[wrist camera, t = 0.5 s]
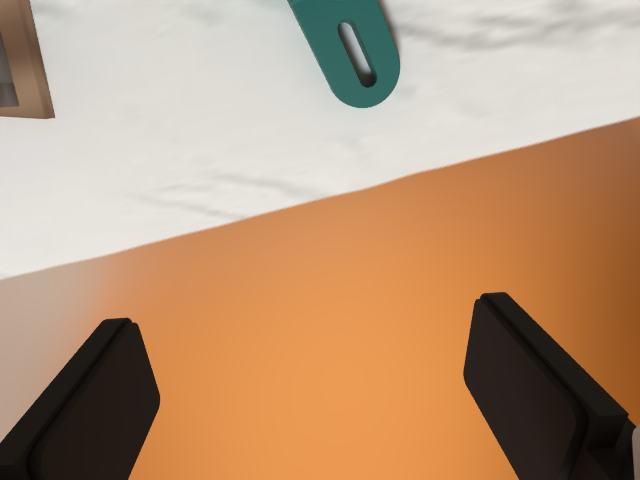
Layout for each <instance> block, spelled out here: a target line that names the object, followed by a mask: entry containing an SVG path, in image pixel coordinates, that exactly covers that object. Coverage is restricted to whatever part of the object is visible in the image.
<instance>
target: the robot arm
mask: <svg viewBox="0 0 640 480" xmlns="http://www.w3.org/2000/svg"><path fill="white" fill-rule="evenodd" d="M463 375H464V380H465V384H466V386H467V388H468V389H469V391H470V393H471V395H472V396H473V398H474V400H475V402H476V404H477V405H478V407H479V409H480V411H481V412H482V414H483V416H484V418H485V420H486V421H487V423H488V425H489V427H490V428H491V430H492V432H493V434H494V436H495V437H496V439H497V441H498V443H499V444H500V446H501V448H502V450H503V451H504V453H505V455H506V457H507V458H508V460H509V462H510V464H511V466H512V468H513V469H514V471H515V473H516V475H517V476H518V478H519V480H640V425H639V426H638V427H636V426H635V425H634V424H633V423H632V422H631V421H630V420H629V419H628V415H629V414H628V413H627V412H626V411H625V410H624V409H623V408H622V407H621V406H620V405H619V404H618V403H617V402H616V401H615V400H614V399H613V398H612V397H611V396H610V395H609V394H608V393H607V392H606V391H605V390H604V389H603V388H602V387H601V386H600V385H599V384H598V383H597V382H596V381H595V380H594V379H593V378H592V377H591V376H590V375H589V374H588V373H587V372H586V371H585V370H584V369H583V368H582V367H581V366H580V365H579V364H578V363H577V362H576V361H575V360H574V359H573V358H572V357H571V356H570V355H569V354H568V353H567V352H566V351H565V350H564V349H563V348H562V347H561V346H560V345H559V344H558V343H557V342H556V341H555V340H554V339H553V338H551V336H550V335H549V334H547V333H546V331H544V330H543V329H542V328H541V327H540V326H539V325H538V324H537V323H536V322H535V321H534V320H533V319H532V318H531V317H530V316H529V315H528V314H527V313H526V312H525V311H524V310H523V309H522V308H521V307H520V306H519V305H518V304H517V303H516V302H515V301H514V300H513V299H512V298H511V297H510V296H509V295H508V294H507V293H505V292H497V293H484V294H482V295H481V297H480V299H477V300H476V301H475V304H474V309H473V316H472V321H471V328H470V334H469V340H468V346H467V353H466V359H465V365H464V373H463ZM159 405H160V394H159V391H158V387H157V384H156V381H155V377H154V374H153V371H152V368H151V365H150V361H149V358H148V355H147V352H146V348H145V345H144V342H143V339H142V335H141V332H140V329H139V327H138V324H137V323H132V321H131V320H130V319H129V318H116V319H106V320H104V321H102V322H101V324H100V325H99V326H98V327H97V328H96V329H95V330H94V332H93V333H92V334H91V335H90V337H89V338H88V339H87V340H86V341H85V342H84V344H83V345H82V346H81V347H80V348H79V350H78V351H77V352H76V353H75V354H74V356H73V357H72V358H71V359H70V360H69V362H68V363H67V364H66V365H65V366H64V368H63V369H62V370H61V371H60V372H59V373H58V375H57V376H56V377H55V378H54V379H53V381H52V382H51V383H50V384H49V386H48V387H47V388H46V389H45V390H44V391H43V393H42V394H41V395H40V396H39V397H38V399H37V400H36V401H35V402H34V403H33V405H32V406H31V407H30V408H29V409H28V411H27V412H26V413H25V414H24V415H23V416H22V418H21V419H20V420H19V421H18V422H17V424H16V425H15V426H14V427H13V428H12V430H11V431H10V432H9V433H8V434H7V436H6V437H5V438H4V439H3V440H2V442H1V443H0V480H128V478H129V476H130V474H131V471H132V469H133V467H134V464H135V462H136V460H137V457H138V455H139V453H140V451H141V448H142V446H143V444H144V441H145V439H146V437H147V434H148V432H149V430H150V428H151V425H152V423H153V421H154V418H155V416H156V414H157V411H158V409H159Z"/></svg>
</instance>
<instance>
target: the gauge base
mask: <svg viewBox="0 0 640 480" xmlns="http://www.w3.org/2000/svg"><path fill="white" fill-rule="evenodd" d="M0 116H3V117H20V118H37V119H49V118H55V115H54V111H53V106H52V102H51V97H50V93H49V88H48V84H47V79H46V75H45V70H44V66H43V61H42V57H41V52H40V48H39V43H38V39H37V34H36V30H35V25H34V21H33V16H32V12H31V7H30V3H29V0H0Z"/></svg>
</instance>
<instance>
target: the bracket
mask: <svg viewBox="0 0 640 480" xmlns="http://www.w3.org/2000/svg"><path fill="white" fill-rule="evenodd" d="M287 1H288V3H289V5H290V7H291V9H292V11H293V13H294V15H295V17H296V19H297V21H298V23H299V25H300V27H301V29H302V31H303V33H304V35H305V37H306V39H307V41H308V43H309V45H310V47H311V49H312V51H313V53H314V55H315V58H316V60H317V62H318V64H319V66H320V68H321V70H322V72H323V74H324V76H325V78H326V80H327V82H328V84H329V86H330V88H331V90H332V92H333V93H334V95H335V96H336V97H337V98H338V99H339V100H340V101H342V102H343V103H345V104H347V105H350V106H353V107H357V108H368V107H372V106H375V105H377V104H379V103H381V102H382V101H384V100H385V99H386V98H387V97H388V96H389V95H390V94H391V92H392V91H393V90H394V88H395V86H396V84H397V81H398V78H399V73H400V58H399V54H398V51H397V48H396V46H395V43H394V41H393V38H392V36H391V33H390V31H389V28H388V26H387V23H386V21H385V18H384V16H383V13H382V11H381V8H380V6H379V3H378V1H377V0H287ZM344 22H345V23H348V24H350V26H351V27H352V29H353V31H354V34H355V36H356V38H357V40H358V43H359V45H360V47H361V50H362V52H363V54H364V56H365V59H366V61H367V63H368V66H369V68H370V70H371V72H372V75H373V81H372V84H371V85H370V86H369V87H367V88H366V87H364V86H362V85H361V83H360V81H359V78H358V76H357V74H356V72H355V70H354V68H353V65H352V63H351V61H350V59H349V57H348V54H347V52H346V50H345V48H344V46H343V43H342V41H341V39H340V37H339V35H338V31H337V29H338V25H339V24H340V23H344Z"/></svg>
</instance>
